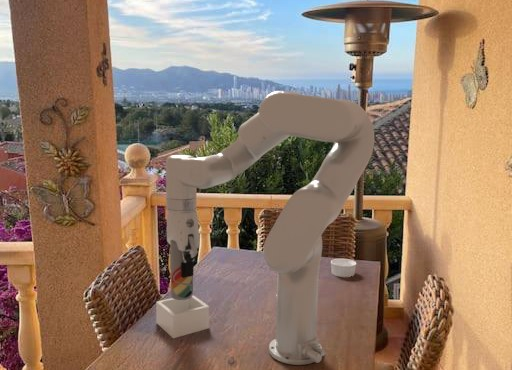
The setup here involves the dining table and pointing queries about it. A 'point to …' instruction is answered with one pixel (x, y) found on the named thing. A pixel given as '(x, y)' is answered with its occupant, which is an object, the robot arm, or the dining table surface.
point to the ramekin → (343, 267)
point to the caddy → (182, 316)
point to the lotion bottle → (179, 275)
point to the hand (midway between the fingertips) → (181, 272)
